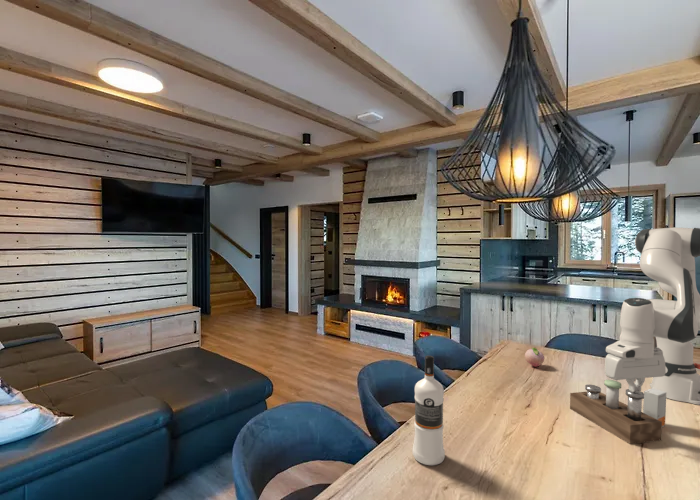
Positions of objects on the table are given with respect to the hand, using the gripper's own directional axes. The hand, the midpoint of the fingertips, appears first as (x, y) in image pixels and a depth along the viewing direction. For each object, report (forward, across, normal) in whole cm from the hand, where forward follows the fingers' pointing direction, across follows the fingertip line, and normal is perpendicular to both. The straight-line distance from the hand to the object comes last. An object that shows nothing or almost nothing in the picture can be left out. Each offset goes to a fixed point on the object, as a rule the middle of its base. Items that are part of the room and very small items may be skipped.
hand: (634, 390), depth 118 cm
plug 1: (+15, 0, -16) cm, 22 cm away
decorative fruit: (+15, -11, -62) cm, 65 cm away
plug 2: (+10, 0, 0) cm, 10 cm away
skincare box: (+15, -13, -4) cm, 20 cm away
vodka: (+15, +71, -1) cm, 73 cm away
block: (+15, 0, -8) cm, 17 cm away
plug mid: (+10, 0, -8) cm, 13 cm away
